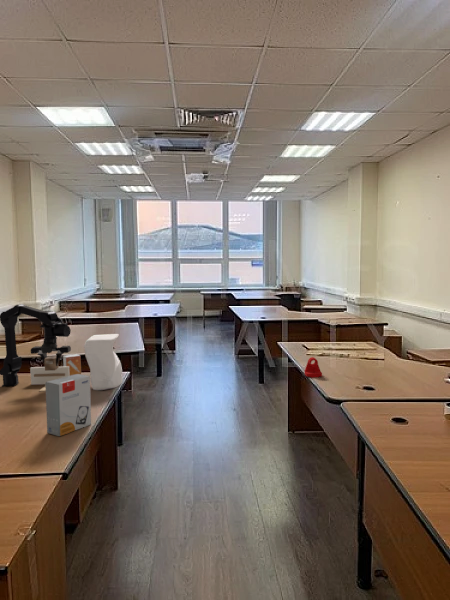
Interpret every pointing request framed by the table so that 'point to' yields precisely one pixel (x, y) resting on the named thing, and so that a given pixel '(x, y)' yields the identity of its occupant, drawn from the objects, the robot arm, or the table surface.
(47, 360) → the cabinet block
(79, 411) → the hard drive box
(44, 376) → the white slotted box
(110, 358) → the white curved block
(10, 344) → the robot arm
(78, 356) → the small box
